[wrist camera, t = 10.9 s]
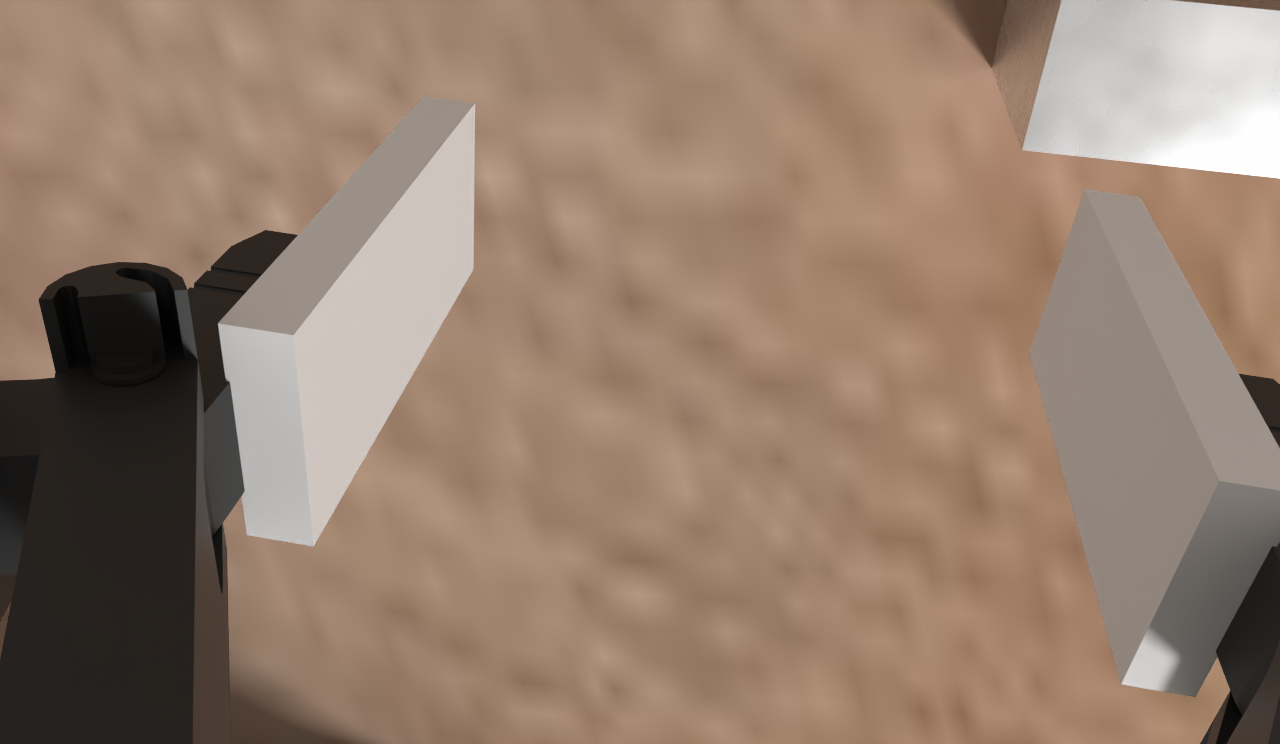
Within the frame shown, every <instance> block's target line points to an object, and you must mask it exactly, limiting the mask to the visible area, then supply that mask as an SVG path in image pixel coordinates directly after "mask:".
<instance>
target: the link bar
mask: <svg viewBox="0 0 1280 744" xmlns="http://www.w3.org/2000/svg"><path fill="white" fill-rule="evenodd" d="M992 71H993V73H994V76H995V79H996V81H997V84H998V87H999V90H1000V92H1001V95H1002V98H1003V100H1004V103H1005V106H1006V108H1007V111H1008V114H1009V116H1010V119H1011V122H1012V124H1013V127H1014V130H1015V132H1016V135H1017V138H1018V140H1019V143H1020V146H1021V148H1022V150H1026V151H1036V152H1045V153H1054V154H1063V155H1072V156H1081V157H1090V158H1099V159H1109V160H1118V161H1127V162H1136V163H1145V164H1154V165H1163V166H1172V167H1182V168H1191V169H1200V170H1209V171H1218V172H1227V173H1236V174H1245V175H1254V176H1264V177H1273V178H1280V0H1008V1H1007V5H1006V9H1005V14H1004V18H1003V22H1002V26H1001V30H1000V35H999V39H998V43H997V47H996V52H995V56H994V60H993V64H992Z"/></svg>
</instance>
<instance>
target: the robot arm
mask: <svg viewBox="0 0 1280 744" xmlns="http://www.w3.org/2000/svg"><path fill="white" fill-rule="evenodd" d="M474 148H475V103H468V102H461V101H454V100H447V99H440V98H433V97H426V96H424V97H423V98H422V99H421V100H420V101H419V102H418V103H417V105H416V106H415V107H414V108H413V109H412V110H411V111H410V112H409V113H408V114H407V116H406V117H405V118H404V119H403V120H402V121H401V122H400V123H399V124H398V125H397V127H396V128H395V129H394V130H393V131H392V132H391V133H390V134H389V135H388V136H387V138H386V139H385V140H384V141H383V142H382V143H381V144H380V145H379V146H378V147H377V149H376V150H375V151H374V152H373V153H372V154H371V155H370V156H369V157H368V159H367V160H366V161H365V162H364V163H363V164H362V165H361V166H360V167H359V168H358V170H357V171H356V172H355V173H354V174H353V175H352V176H351V177H350V178H349V179H348V181H347V182H346V183H345V184H344V185H343V186H342V187H341V188H340V189H339V190H338V192H337V193H336V194H335V195H334V196H333V197H332V198H331V199H330V200H329V201H328V203H327V204H326V205H325V206H324V207H323V208H322V209H321V210H320V211H319V213H318V214H317V215H316V216H315V217H314V218H313V219H312V220H311V221H310V222H309V224H308V225H307V226H306V227H305V228H304V229H303V230H302V231H301V232H300V233H299V235H294V234H287V233H281V232H274V231H267V230H265V231H263V232H261V233H259V234H256V235H254V236H252V237H250V238H248V239H246V240H243V241H241V242H239V243H237V244H235V245H233V246H231V247H230V248H229V249H228V250H227V251H226V252H225V253H224V254H223V255H222V256H221V257H220V258H219V259H218V260H217V261H216V262H215V263H214V264H213V265H212V266H211V271H206V272H205V273H204V274H203V275H202V276H201V277H200V278H199V279H198V280H197V281H196V282H195V283H194V288H189V289H188V290H187V288H186V285H185V283H184V281H183V278H182V277H181V276H179V275H177V274H176V273H174V272H173V271H171V270H170V269H168V268H164V267H160V266H156V265H152V264H148V263H130V262H116V263H110V264H103V265H96V266H90V267H87V268H84V269H81V270H78V271H75V272H72V273H69V274H66V275H64V276H63V277H61V278H60V279H58V280H57V281H55V282H53V283H52V284H50V285H49V286H47V288H46V289H45V291H44V292H43V294H42V295H41V297H40V298H39V304H40V308H41V312H42V316H43V320H44V325H45V329H46V333H47V337H48V341H49V346H50V350H51V354H52V358H53V362H54V367H55V371H56V373H55V378H47V379H35V380H9V381H0V620H1V619H2V617H3V615H4V613H5V611H6V610H7V608H8V606H9V604H10V602H11V600H12V602H11V607H10V612H9V617H8V623H7V628H6V633H5V638H4V643H3V649H2V654H1V659H0V744H231V736H230V683H229V630H228V578H227V547H226V541H225V534H224V528H223V522H224V520H225V519H226V517H227V516H228V514H229V513H230V512H231V510H232V509H233V507H234V506H235V504H236V503H237V502H238V500H239V499H240V497H241V496H242V502H243V510H244V517H245V524H246V531H247V535H250V536H256V537H262V538H267V539H273V540H279V541H285V542H291V543H297V544H303V545H308V546H314V545H315V543H316V541H317V540H318V538H319V536H320V534H321V533H322V531H323V529H324V527H325V526H326V524H327V522H328V520H329V519H330V517H331V515H332V514H333V512H334V510H335V508H336V507H337V505H338V503H339V501H340V500H341V498H342V496H343V494H344V493H345V491H346V489H347V488H348V486H349V484H350V482H351V481H352V479H353V477H354V475H355V474H356V472H357V470H358V468H359V467H360V465H361V463H362V462H363V460H364V458H365V456H366V455H367V453H368V451H369V449H370V448H371V446H372V444H373V442H374V441H375V439H376V437H377V435H378V434H379V432H380V430H381V429H382V427H383V425H384V423H385V422H386V420H387V418H388V416H389V415H390V413H391V411H392V409H393V408H394V406H395V404H396V403H397V401H398V399H399V397H400V396H401V394H402V392H403V390H404V389H405V387H406V385H407V383H408V382H409V380H410V378H411V377H412V375H413V373H414V371H415V370H416V368H417V366H418V364H419V363H420V361H421V359H422V357H423V356H424V354H425V352H426V351H427V349H428V347H429V345H430V344H431V342H432V340H433V338H434V337H435V335H436V333H437V331H438V330H439V328H440V326H441V325H442V323H443V321H444V319H445V318H446V316H447V314H448V312H449V311H450V309H451V307H452V305H453V304H454V302H455V300H456V299H457V297H458V295H459V293H460V292H461V290H462V288H463V286H464V285H465V283H466V281H467V279H468V278H469V276H470V274H471V273H472V271H473V255H474ZM1030 357H1031V361H1032V364H1033V368H1034V372H1035V375H1036V379H1037V382H1038V386H1039V390H1040V393H1041V397H1042V400H1043V404H1044V408H1045V411H1046V415H1047V418H1048V422H1049V426H1050V429H1051V433H1052V437H1053V440H1054V444H1055V447H1056V451H1057V455H1058V458H1059V462H1060V465H1061V469H1062V473H1063V476H1064V480H1065V483H1066V487H1067V491H1068V494H1069V498H1070V501H1071V505H1072V509H1073V512H1074V516H1075V520H1076V523H1077V527H1078V530H1079V534H1080V538H1081V541H1082V545H1083V548H1084V552H1085V556H1086V559H1087V563H1088V566H1089V570H1090V574H1091V577H1092V581H1093V585H1094V588H1095V592H1096V595H1097V599H1098V603H1099V606H1100V610H1101V613H1102V617H1103V621H1104V624H1105V628H1106V631H1107V635H1108V639H1109V642H1110V646H1111V650H1112V653H1113V657H1114V660H1115V664H1116V668H1117V671H1118V675H1119V678H1120V682H1121V684H1123V685H1128V686H1134V687H1140V688H1146V689H1152V690H1158V691H1164V692H1169V693H1175V694H1181V695H1187V696H1193V697H1196V695H1197V693H1198V691H1199V689H1200V688H1201V686H1202V684H1203V682H1204V680H1205V678H1206V677H1207V675H1208V673H1209V671H1210V669H1211V667H1212V666H1213V664H1214V662H1215V660H1216V658H1217V656H1218V659H1219V661H1220V664H1221V667H1222V669H1223V672H1224V675H1225V677H1226V680H1227V682H1228V685H1229V688H1230V692H1229V694H1228V696H1227V697H1226V699H1225V701H1224V703H1223V704H1222V706H1221V708H1220V710H1219V712H1218V713H1217V715H1216V717H1215V719H1214V720H1213V722H1212V724H1211V726H1210V727H1209V729H1208V731H1207V733H1206V735H1205V736H1204V738H1203V740H1202V742H1201V743H1200V744H1280V384H1278V383H1277V382H1276V381H1275V380H1274V379H1270V378H1263V377H1256V376H1250V375H1243V374H1238V372H1237V370H1236V369H1235V367H1234V365H1233V363H1232V361H1231V360H1230V358H1229V356H1228V354H1227V352H1226V351H1225V349H1224V347H1223V345H1222V344H1221V342H1220V340H1219V338H1218V336H1217V335H1216V333H1215V331H1214V329H1213V327H1212V326H1211V324H1210V322H1209V320H1208V318H1207V317H1206V315H1205V313H1204V311H1203V309H1202V308H1201V306H1200V304H1199V302H1198V300H1197V299H1196V297H1195V295H1194V293H1193V291H1192V290H1191V288H1190V286H1189V284H1188V282H1187V281H1186V279H1185V277H1184V275H1183V273H1182V272H1181V270H1180V268H1179V266H1178V264H1177V263H1176V261H1175V259H1174V257H1173V255H1172V254H1171V252H1170V250H1169V248H1168V246H1167V245H1166V243H1165V241H1164V239H1163V237H1162V236H1161V234H1160V232H1159V230H1158V228H1157V227H1156V225H1155V223H1154V221H1153V219H1152V218H1151V216H1150V214H1149V212H1148V210H1147V209H1146V207H1145V205H1144V203H1143V201H1142V200H1141V198H1140V197H1137V196H1130V195H1123V194H1115V193H1108V192H1101V191H1094V190H1087V189H1085V190H1084V193H1083V196H1082V199H1081V202H1080V205H1079V208H1078V211H1077V214H1076V216H1075V219H1074V222H1073V225H1072V228H1071V231H1070V234H1069V237H1068V240H1067V243H1066V246H1065V249H1064V252H1063V255H1062V258H1061V261H1060V264H1059V267H1058V270H1057V273H1056V276H1055V279H1054V282H1053V285H1052V288H1051V291H1050V294H1049V297H1048V300H1047V303H1046V306H1045V309H1044V312H1043V315H1042V318H1041V321H1040V324H1039V327H1038V330H1037V333H1036V335H1035V338H1034V341H1033V344H1032V347H1031V350H1030Z"/></svg>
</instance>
